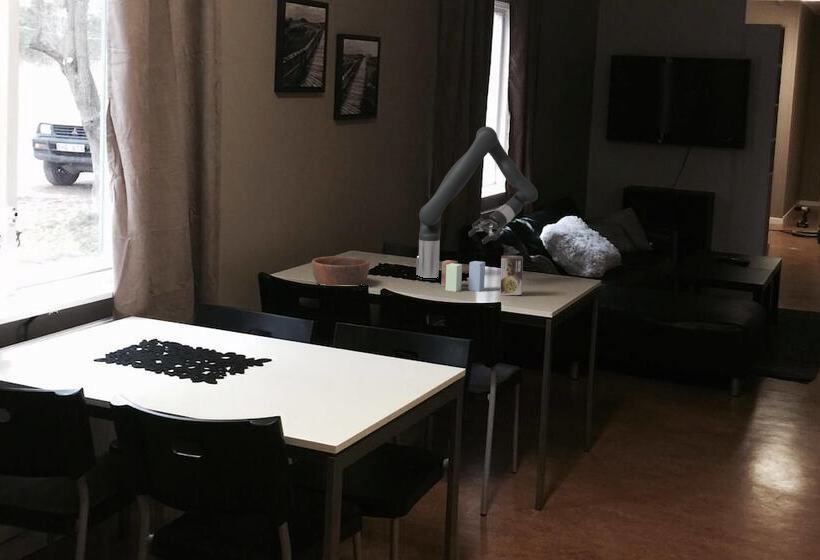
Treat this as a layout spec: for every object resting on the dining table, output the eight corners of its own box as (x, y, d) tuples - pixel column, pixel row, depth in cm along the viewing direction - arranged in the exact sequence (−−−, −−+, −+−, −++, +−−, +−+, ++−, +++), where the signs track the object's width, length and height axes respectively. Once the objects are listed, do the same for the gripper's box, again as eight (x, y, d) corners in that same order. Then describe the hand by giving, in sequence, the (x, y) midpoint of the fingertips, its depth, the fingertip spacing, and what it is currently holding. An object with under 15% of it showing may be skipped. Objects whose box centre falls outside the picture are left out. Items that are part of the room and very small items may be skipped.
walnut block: (441, 286, 473) (442, 261, 471) (446, 285, 478) (447, 260, 476) (451, 288, 471) (452, 262, 469) (456, 286, 475) (457, 261, 473)
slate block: (468, 290, 467) (469, 262, 465) (473, 288, 472) (474, 260, 469) (479, 291, 465) (480, 263, 463) (484, 289, 469) (485, 262, 467)
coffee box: (521, 293, 463) (523, 255, 460) (521, 296, 457) (523, 258, 454) (500, 292, 464) (501, 254, 461) (499, 295, 458) (501, 257, 455)
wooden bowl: (379, 282, 480) (379, 259, 478) (352, 292, 457) (352, 267, 455) (329, 276, 490) (329, 254, 488) (300, 285, 467) (300, 262, 466)
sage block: (445, 290, 466) (446, 264, 464) (450, 288, 470) (451, 263, 468) (455, 291, 463) (456, 266, 461) (461, 289, 468) (462, 264, 466)
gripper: (488, 204, 482) (462, 226, 476) (511, 216, 473) (485, 239, 467) (492, 217, 487) (466, 238, 482) (514, 229, 478) (489, 251, 472)
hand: (475, 239), depth 474 cm, fingers open, 8 cm apart
